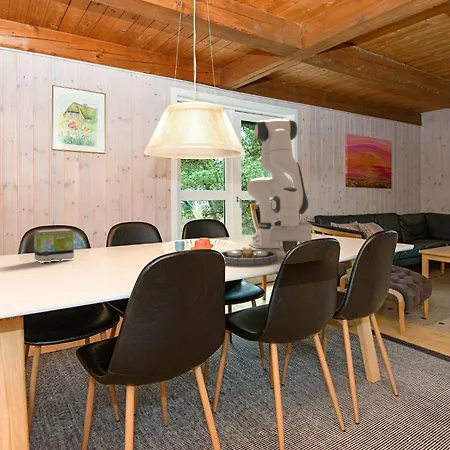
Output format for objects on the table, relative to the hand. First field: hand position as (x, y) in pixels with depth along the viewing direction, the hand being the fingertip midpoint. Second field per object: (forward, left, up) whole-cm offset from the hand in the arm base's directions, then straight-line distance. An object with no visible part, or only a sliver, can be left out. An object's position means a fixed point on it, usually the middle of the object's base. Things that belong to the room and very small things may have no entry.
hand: (289, 250), depth 188 cm
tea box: (-45, -102, -3) cm, 112 cm away
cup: (0, 0, -3) cm, 3 cm away
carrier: (-2, -22, -3) cm, 22 cm away
